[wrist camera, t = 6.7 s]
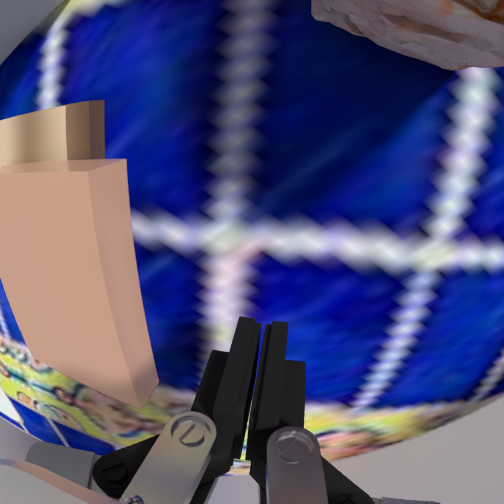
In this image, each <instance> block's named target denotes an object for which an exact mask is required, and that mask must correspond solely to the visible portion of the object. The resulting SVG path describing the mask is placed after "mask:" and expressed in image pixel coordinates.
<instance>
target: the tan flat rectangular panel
mask: <svg viewBox="0 0 504 504" xmlns="http://www.w3.org/2000/svg"><path fill="white" fill-rule="evenodd" d="M65 160H67V144H66V106H60V107H55V108H50V109H45V110H40V111H36V112H32V113H27V114H23V115H19V116H15V117H11V118H8V119H4V120H0V167H2V166H5V165H10V164H21V163H33V162H47V161H65Z"/></svg>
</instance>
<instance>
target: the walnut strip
mask: <svg viewBox="0 0 504 504" xmlns="http://www.w3.org/2000/svg"><path fill="white" fill-rule="evenodd" d="M66 144H67V160H90V159H105V134H104V100H97V101H86V102H79V103H73V104H68V105H66Z"/></svg>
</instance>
